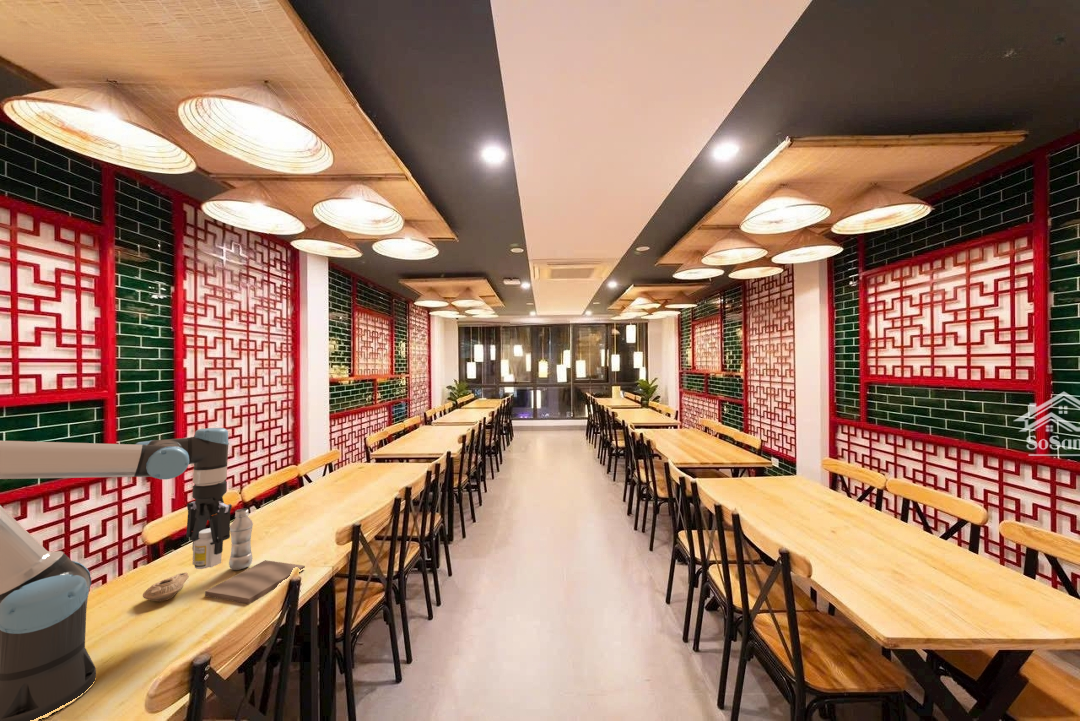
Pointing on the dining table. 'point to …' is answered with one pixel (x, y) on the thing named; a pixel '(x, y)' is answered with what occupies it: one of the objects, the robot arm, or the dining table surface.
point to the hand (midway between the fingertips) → (206, 563)
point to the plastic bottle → (241, 540)
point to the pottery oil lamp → (166, 588)
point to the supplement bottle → (203, 549)
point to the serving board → (252, 582)
